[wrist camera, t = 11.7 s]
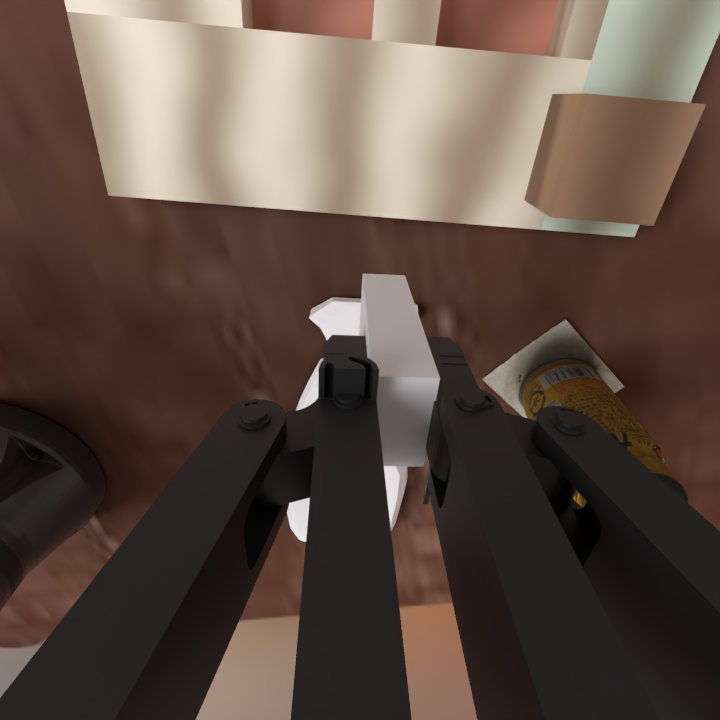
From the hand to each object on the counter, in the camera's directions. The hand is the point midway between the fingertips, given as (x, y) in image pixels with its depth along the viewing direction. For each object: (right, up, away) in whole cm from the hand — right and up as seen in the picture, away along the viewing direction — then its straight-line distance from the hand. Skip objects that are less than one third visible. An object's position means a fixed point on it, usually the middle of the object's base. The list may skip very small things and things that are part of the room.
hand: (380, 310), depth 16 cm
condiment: (+14, -3, +18) cm, 23 cm away
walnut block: (+11, +9, +7) cm, 16 cm away
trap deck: (+1, +14, +7) cm, 16 cm away
